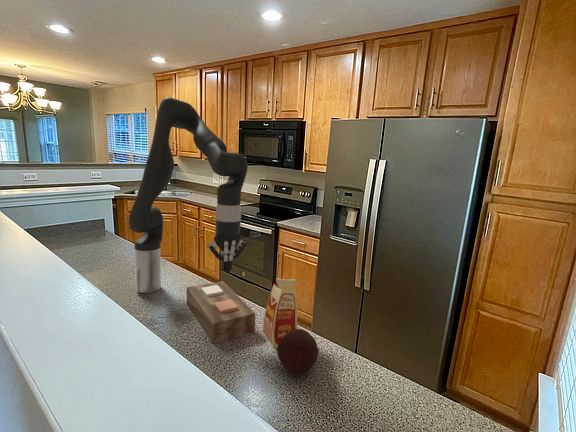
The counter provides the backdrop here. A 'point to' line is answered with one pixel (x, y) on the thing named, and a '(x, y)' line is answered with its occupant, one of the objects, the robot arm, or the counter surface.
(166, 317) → the counter surface
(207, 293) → the cream square block
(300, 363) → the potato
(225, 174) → the robot arm
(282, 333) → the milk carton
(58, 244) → the counter surface
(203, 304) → the block
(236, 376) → the counter surface
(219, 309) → the salmon pink block
